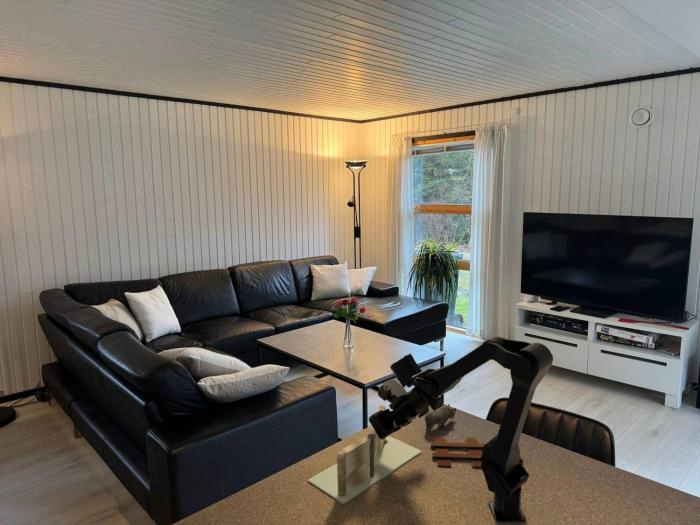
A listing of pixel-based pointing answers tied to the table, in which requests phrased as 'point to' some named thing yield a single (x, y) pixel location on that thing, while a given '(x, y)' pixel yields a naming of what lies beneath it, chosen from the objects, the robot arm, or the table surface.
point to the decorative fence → (445, 456)
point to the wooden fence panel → (355, 464)
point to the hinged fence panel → (377, 441)
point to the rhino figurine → (439, 417)
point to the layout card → (388, 461)
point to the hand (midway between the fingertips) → (383, 428)
